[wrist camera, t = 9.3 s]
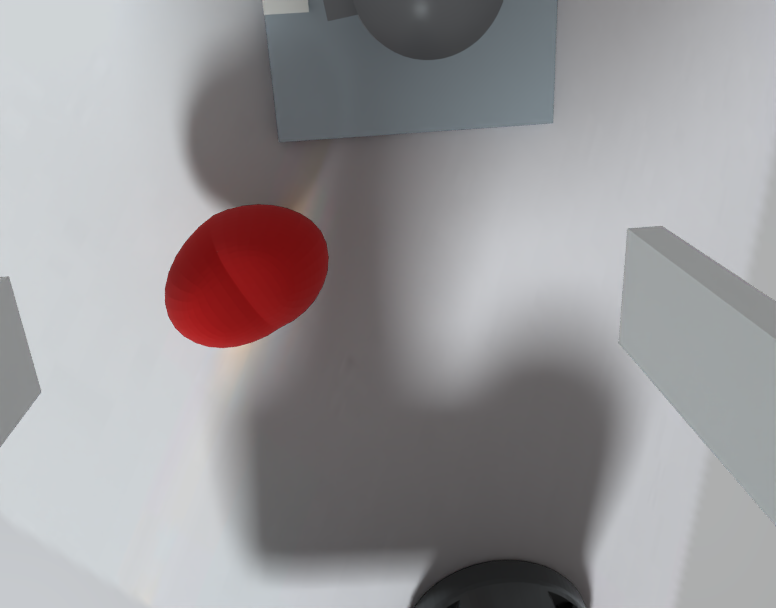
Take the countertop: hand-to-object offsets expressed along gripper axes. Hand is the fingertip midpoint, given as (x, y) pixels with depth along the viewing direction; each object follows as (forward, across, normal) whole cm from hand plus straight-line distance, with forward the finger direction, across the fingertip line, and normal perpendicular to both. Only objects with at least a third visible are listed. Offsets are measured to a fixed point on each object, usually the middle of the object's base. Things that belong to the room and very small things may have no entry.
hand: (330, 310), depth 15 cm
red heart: (+29, -5, -7) cm, 30 cm away
